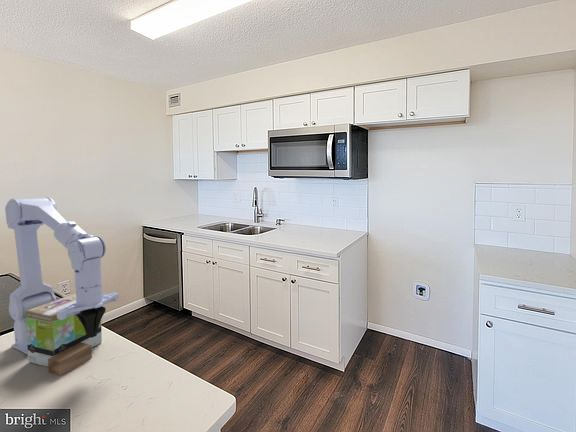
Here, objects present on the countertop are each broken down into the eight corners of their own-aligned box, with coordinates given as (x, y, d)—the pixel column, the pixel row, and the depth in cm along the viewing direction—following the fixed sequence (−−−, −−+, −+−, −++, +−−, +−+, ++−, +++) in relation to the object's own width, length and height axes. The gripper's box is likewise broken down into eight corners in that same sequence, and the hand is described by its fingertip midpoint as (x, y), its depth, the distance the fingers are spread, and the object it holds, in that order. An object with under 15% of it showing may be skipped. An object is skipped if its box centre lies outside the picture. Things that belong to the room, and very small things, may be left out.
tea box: (55, 369, 84) (51, 315, 82) (27, 363, 87) (23, 310, 85) (103, 342, 98) (101, 295, 97) (78, 337, 101) (75, 291, 99)
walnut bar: (48, 373, 83) (47, 358, 82) (81, 355, 91) (80, 342, 91) (60, 376, 81) (59, 361, 81) (91, 358, 90) (91, 344, 89)
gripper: (67, 296, 73) (70, 353, 75) (125, 279, 86) (127, 328, 87) (50, 291, 76) (54, 345, 78) (108, 275, 89) (110, 322, 91)
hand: (91, 335), depth 83 cm, fingers closed
